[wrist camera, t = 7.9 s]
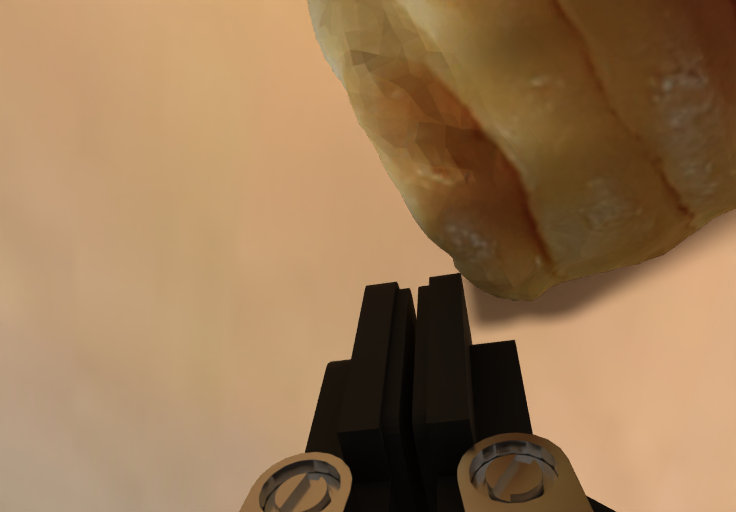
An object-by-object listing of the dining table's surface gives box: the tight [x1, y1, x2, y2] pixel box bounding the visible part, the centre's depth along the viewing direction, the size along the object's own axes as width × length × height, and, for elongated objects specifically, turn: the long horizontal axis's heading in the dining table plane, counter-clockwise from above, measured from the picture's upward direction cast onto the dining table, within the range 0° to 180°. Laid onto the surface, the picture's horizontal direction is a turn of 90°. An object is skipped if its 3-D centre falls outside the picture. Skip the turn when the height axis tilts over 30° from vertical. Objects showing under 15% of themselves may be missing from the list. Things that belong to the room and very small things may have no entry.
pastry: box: [308, 0, 736, 301], centre depth 9 cm, size 9×7×4 cm
